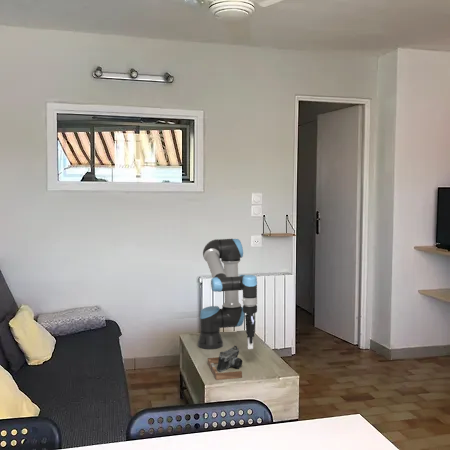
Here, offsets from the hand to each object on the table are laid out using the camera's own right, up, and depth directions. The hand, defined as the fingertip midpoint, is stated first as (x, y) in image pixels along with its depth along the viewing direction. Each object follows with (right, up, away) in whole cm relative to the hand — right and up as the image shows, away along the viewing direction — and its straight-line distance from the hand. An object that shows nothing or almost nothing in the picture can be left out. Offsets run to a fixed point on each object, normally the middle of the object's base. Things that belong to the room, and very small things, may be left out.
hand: (250, 348), depth 276 cm
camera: (-10, -11, +1) cm, 15 cm away
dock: (-13, -11, -3) cm, 17 cm away
